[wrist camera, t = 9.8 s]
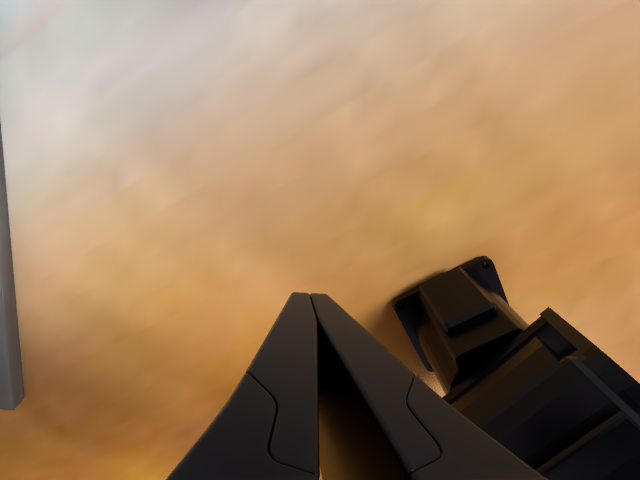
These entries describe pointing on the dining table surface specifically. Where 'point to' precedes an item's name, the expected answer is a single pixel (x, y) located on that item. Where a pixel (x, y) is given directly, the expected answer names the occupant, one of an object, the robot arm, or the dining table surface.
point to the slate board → (8, 311)
